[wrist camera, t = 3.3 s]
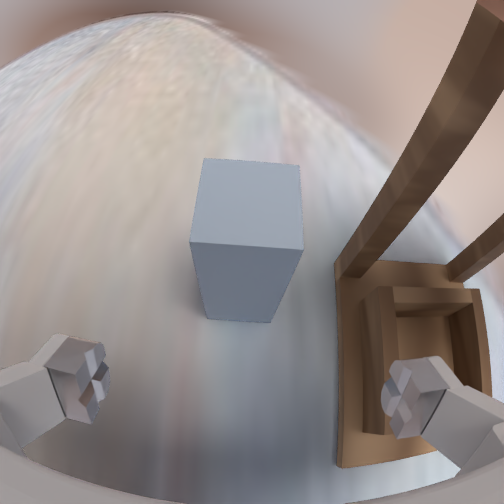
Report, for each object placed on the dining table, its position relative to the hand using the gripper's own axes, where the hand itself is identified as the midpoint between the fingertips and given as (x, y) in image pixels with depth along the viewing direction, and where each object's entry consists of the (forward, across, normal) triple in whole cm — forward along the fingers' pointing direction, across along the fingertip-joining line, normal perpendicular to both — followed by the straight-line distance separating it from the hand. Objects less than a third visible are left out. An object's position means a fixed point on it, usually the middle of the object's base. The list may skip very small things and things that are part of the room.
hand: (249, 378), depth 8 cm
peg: (+12, 0, +3) cm, 13 cm away
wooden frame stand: (+9, -12, +7) cm, 16 cm away
